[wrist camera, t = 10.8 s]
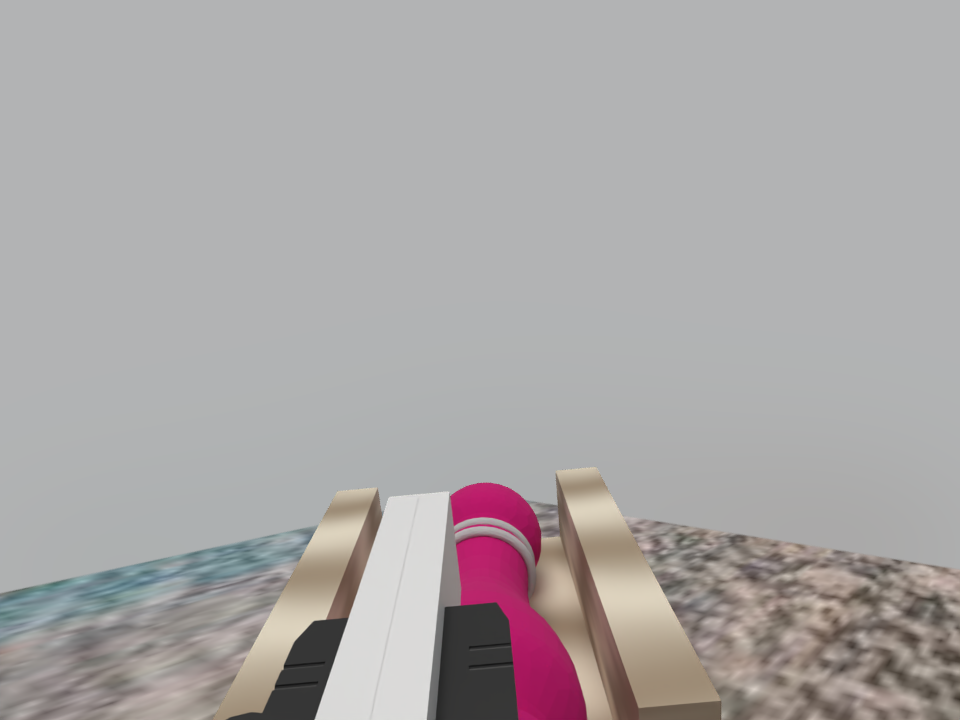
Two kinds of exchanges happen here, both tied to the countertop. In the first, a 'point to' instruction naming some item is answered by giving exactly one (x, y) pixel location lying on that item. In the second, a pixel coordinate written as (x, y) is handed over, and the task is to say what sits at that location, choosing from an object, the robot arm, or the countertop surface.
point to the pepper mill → (514, 595)
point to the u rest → (557, 598)
